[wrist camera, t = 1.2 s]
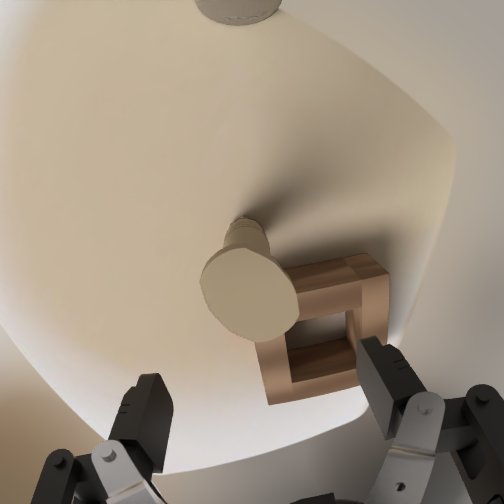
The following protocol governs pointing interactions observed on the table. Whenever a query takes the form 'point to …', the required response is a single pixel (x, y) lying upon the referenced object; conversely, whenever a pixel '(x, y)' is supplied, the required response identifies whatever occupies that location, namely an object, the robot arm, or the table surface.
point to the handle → (249, 285)
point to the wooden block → (321, 304)
